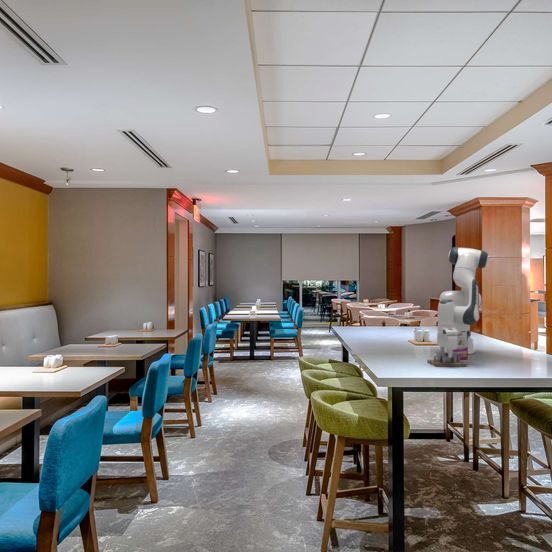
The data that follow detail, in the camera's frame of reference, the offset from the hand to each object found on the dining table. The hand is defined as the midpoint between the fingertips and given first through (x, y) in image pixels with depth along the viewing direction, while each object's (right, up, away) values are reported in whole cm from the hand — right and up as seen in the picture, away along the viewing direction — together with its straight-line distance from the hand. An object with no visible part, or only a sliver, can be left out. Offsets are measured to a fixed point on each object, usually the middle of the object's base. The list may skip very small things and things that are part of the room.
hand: (446, 355), depth 253 cm
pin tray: (0, -5, 0) cm, 5 cm away
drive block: (0, -3, 0) cm, 3 cm away
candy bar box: (+13, -5, +18) cm, 23 cm away
